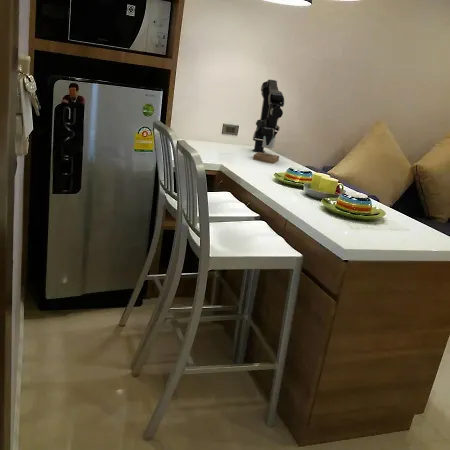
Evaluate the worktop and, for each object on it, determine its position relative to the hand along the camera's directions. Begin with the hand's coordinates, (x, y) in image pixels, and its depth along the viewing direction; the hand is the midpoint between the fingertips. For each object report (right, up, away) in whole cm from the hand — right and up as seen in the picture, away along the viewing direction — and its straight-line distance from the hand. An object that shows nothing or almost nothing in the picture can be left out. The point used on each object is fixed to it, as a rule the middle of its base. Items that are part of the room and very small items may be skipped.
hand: (268, 144), depth 285 cm
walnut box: (-1, -9, +3) cm, 9 cm away
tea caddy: (0, -1, 0) cm, 2 cm away
